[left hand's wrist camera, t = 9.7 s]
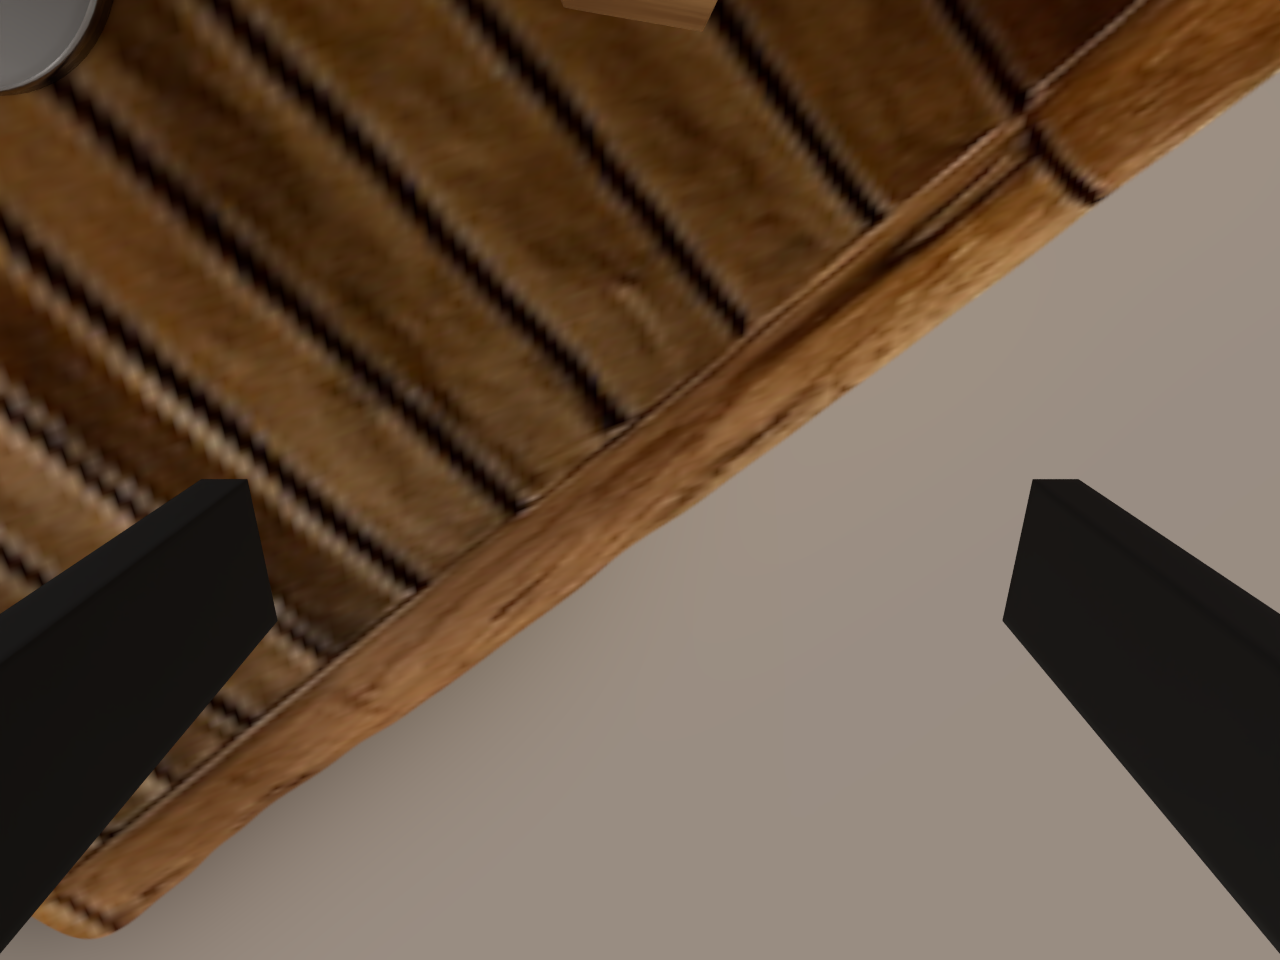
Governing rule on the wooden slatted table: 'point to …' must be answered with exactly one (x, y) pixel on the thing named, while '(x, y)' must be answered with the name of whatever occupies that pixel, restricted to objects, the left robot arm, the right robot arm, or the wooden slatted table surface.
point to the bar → (652, 11)
